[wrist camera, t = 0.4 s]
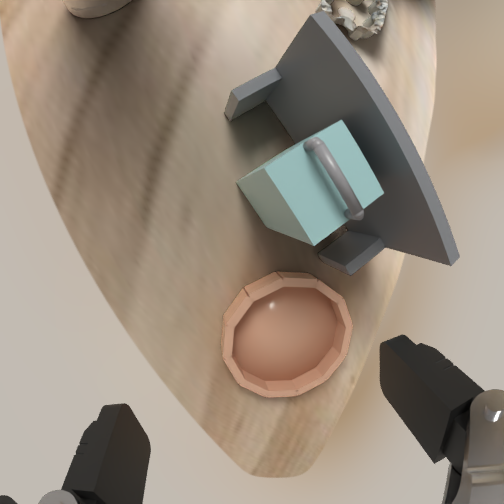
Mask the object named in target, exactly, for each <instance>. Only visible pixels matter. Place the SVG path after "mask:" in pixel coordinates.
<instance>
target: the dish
mask: <svg viewBox="0 0 504 504" xmlns="http://www.w3.org/2000/svg"><path fill="white" fill-rule="evenodd" d="M244 287H245V289H244V288H242V290H241V291H240V292H239V294H238V295H237V297H236V298H235V299H234V301H233V302H232V304H231V305H230V306H229V308H228V309H227V311H226V312H225V313H224V316H223V322H222V336H221V350H222V355H223V360H224V361H225V363H226V365H227V366H228V368H229V370H230V371H231V373H232V375H233V376H234V378H235V380H236V381H237V383H238V384H239V385H240V386H242V387H244V388H247V389H249V390H251V391H253V392H255V393H257V394H259V395H261V396H264V397H267V398H269V397H289V396H297V394H298V396H299V395H301V394H303V393H304V392H306V391H308V390H310V389H312V388H314V387H316V386H318V385H320V384H322V383H324V382H325V379H326V380H328V379H329V377H330V376H331V375H332V374H333V372H334V371H335V370H336V369H337V367H338V366H339V365H340V364H341V362H342V361H343V360H344V359H345V357H346V356H345V355H347V352H348V348H349V343H350V339H351V334H352V329H353V326H352V325H353V324H352V321H351V318H350V315H349V312H348V309H347V306H346V303H345V300H344V298H343V297H342V296H341V295H339V294H338V293H337V292H335V291H334V290H332V289H331V288H330V287H328V286H327V285H326V284H324V283H323V282H321V281H320V280H319V279H317V278H316V277H314V276H313V275H311V274H309V273H298V272H281V271H276V272H273V273H271V274H269V275H267V276H265V277H263V278H261V279H259V280H257V281H255V282H253V283H250V284H248V285H246V286H244Z"/></svg>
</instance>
